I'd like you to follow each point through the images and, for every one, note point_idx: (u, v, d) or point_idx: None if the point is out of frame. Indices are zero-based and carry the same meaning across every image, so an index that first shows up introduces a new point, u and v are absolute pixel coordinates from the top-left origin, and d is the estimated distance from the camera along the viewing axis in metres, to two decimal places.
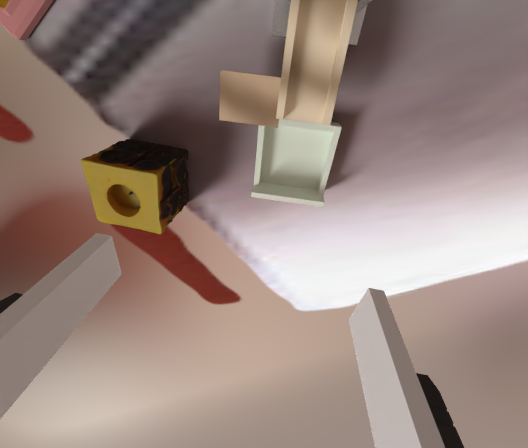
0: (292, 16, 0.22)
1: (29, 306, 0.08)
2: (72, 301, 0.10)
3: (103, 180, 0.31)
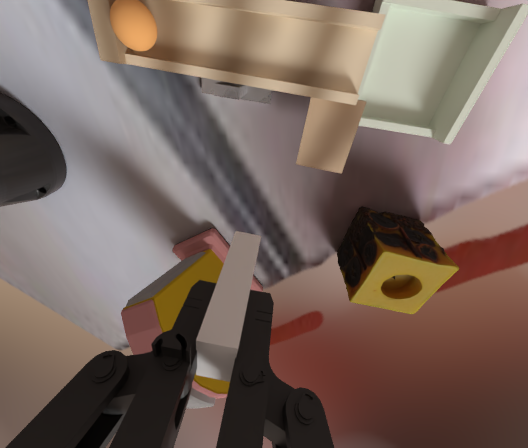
0: (258, 83, 0.21)
1: (228, 289, 0.10)
2: None
3: (373, 294, 0.31)
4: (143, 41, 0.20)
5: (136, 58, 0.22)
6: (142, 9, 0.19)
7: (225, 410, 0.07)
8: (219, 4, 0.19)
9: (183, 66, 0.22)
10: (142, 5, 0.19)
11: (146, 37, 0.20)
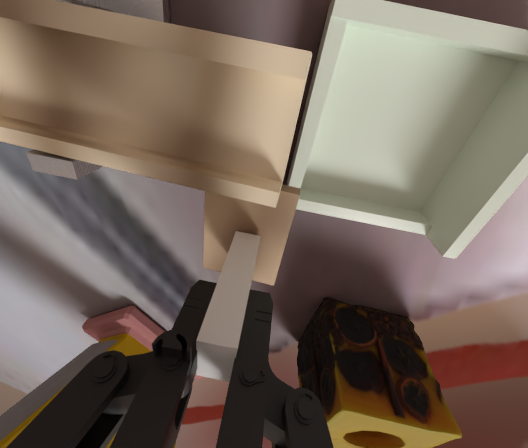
0: (99, 159, 0.11)
1: (228, 289, 0.10)
2: None
3: (333, 441, 0.21)
4: None
5: None
6: None
7: (225, 410, 0.07)
8: None
9: None
10: None
11: None
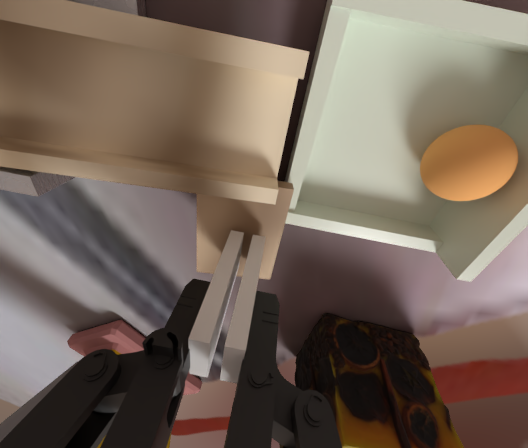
0: (76, 170, 0.10)
1: (222, 288, 0.10)
2: (230, 286, 0.12)
3: None
4: (425, 178, 0.12)
5: None
6: (458, 138, 0.10)
7: (233, 411, 0.07)
8: None
9: None
10: (472, 134, 0.10)
11: (429, 174, 0.11)
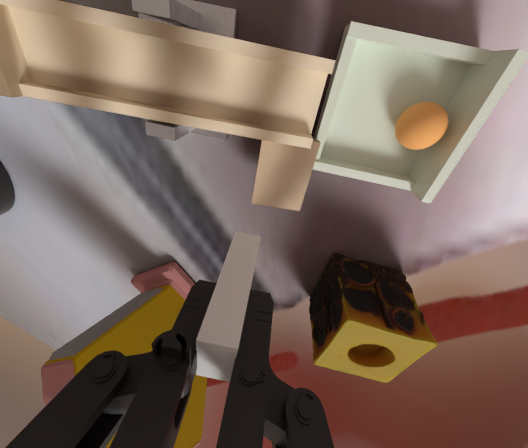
0: (201, 124, 0.18)
1: (228, 289, 0.10)
2: None
3: (339, 359, 0.27)
4: (396, 134, 0.20)
5: (36, 90, 0.17)
6: (412, 108, 0.18)
7: (225, 410, 0.07)
8: (143, 33, 0.15)
9: (104, 102, 0.17)
10: (419, 106, 0.18)
11: (397, 131, 0.19)
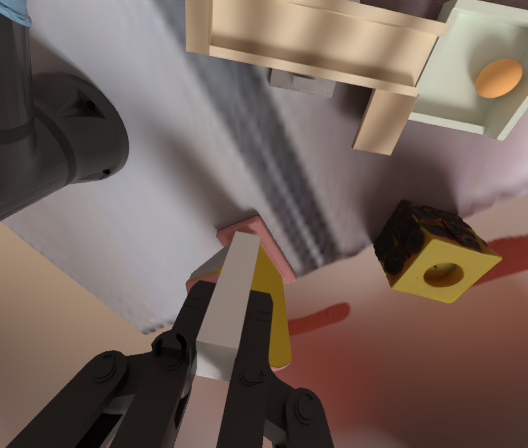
0: (338, 77, 0.24)
1: (228, 289, 0.10)
2: None
3: (415, 281, 0.33)
4: (476, 86, 0.26)
5: (221, 50, 0.23)
6: (493, 64, 0.24)
7: (225, 410, 0.07)
8: (315, 5, 0.21)
9: (269, 60, 0.23)
10: (499, 61, 0.24)
11: (478, 83, 0.26)
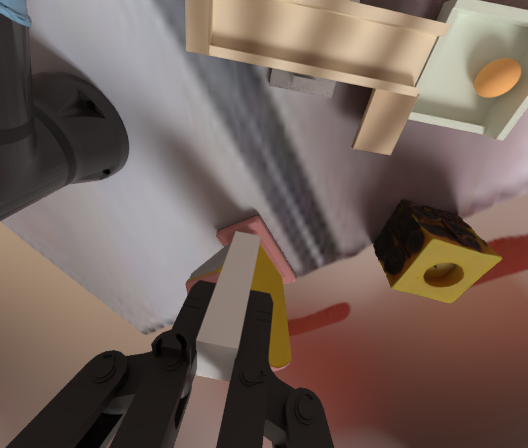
0: (338, 77, 0.24)
1: (228, 289, 0.10)
2: None
3: (415, 281, 0.33)
4: (474, 86, 0.26)
5: (221, 50, 0.23)
6: (491, 63, 0.25)
7: (225, 410, 0.07)
8: (315, 5, 0.21)
9: (269, 59, 0.23)
10: (497, 60, 0.24)
11: (476, 82, 0.26)
